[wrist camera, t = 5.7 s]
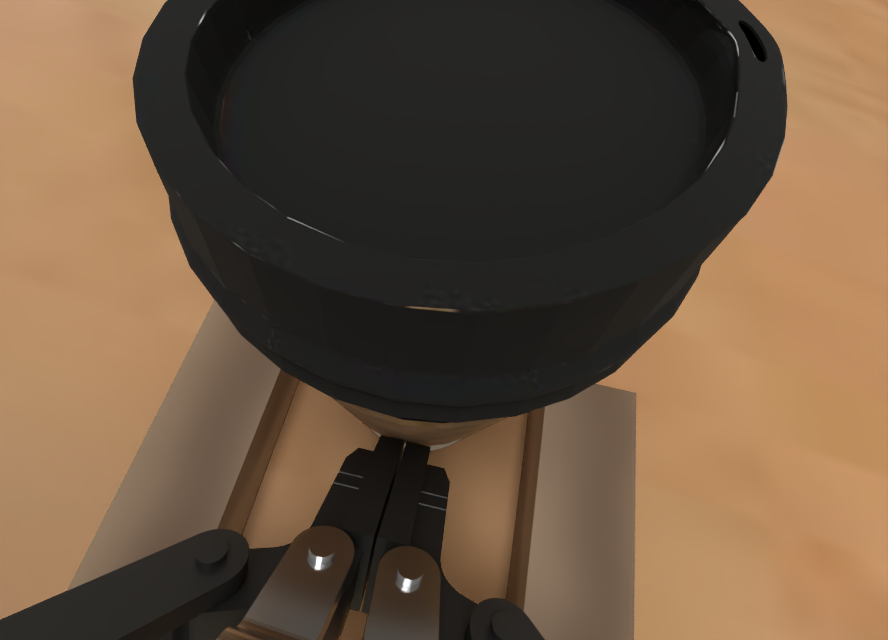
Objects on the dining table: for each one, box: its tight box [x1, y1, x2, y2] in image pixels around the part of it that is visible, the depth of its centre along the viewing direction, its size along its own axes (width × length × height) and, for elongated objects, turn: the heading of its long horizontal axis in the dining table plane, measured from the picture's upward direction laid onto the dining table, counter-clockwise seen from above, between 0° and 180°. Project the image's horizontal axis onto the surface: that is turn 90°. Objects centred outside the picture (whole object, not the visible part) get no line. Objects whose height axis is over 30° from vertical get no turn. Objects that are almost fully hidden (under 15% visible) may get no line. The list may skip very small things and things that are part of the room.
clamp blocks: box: [68, 300, 636, 640], centre depth 16 cm, size 17×10×2 cm, turn 78°
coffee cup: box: [133, 0, 787, 451], centre depth 12 cm, size 8×8×15 cm
